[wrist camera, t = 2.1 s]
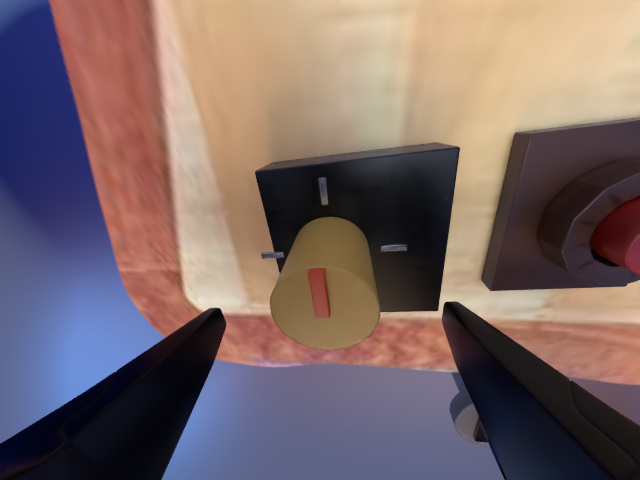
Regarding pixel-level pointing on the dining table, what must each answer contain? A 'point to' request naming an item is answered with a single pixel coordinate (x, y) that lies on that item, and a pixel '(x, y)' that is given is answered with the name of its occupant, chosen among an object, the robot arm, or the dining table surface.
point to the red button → (620, 236)
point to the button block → (562, 206)
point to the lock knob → (327, 287)
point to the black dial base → (373, 212)
